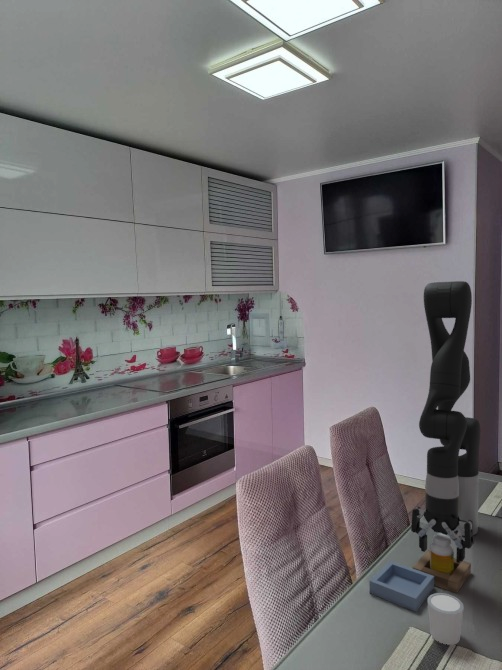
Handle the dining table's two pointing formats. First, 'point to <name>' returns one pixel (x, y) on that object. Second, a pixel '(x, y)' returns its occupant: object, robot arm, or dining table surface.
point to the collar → (442, 579)
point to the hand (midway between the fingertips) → (441, 555)
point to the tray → (402, 585)
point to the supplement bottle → (442, 554)
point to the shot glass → (445, 618)
